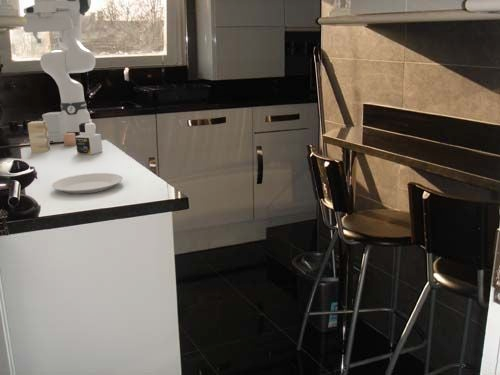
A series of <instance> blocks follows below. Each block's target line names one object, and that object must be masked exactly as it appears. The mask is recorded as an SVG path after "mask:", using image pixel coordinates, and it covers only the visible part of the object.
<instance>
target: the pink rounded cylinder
mask: <svg viewBox="0 0 500 375" xmlns="http://www.w3.org/2000/svg"><path fill="white" fill-rule="evenodd" d="M75 137H76V132H67V133H66V134H63V139H64V141H63V145H64V147H69V148H70V147H74V146H76V139H75Z"/></svg>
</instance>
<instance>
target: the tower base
mask: <svg viewBox="0 0 500 375" xmlns="http://www.w3.org/2000/svg"><path fill="white" fill-rule="evenodd" d="M29 144H30V149H31V154H33V153H47V152H48V151H50V150H51V144H50V142H49V140H48V141H46V142H43V143H30V142H29Z"/></svg>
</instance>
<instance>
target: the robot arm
mask: <svg viewBox="0 0 500 375" xmlns="http://www.w3.org/2000/svg"><path fill="white" fill-rule="evenodd" d="M33 2H34V4H32V5H30V6H27V7H25V8H24V9H23V13H24V15H23V17H24V18H26V19H27V23H26V24H24V25H23V24H22V28H23V31H24V32H25V33H32V35H33V37H34V39H35V40H36V43H37V44H42V38H39V36H38V35H39V33H46V32H48V33H49V32H58V34H57V43H58V45H59V46H60V48H61V49H62V50H61V49H59V50H51V51H47V52H44V53H43V54H42V55H41V56H40V60H39V61H40V62H39V64H40V66H41V69H42V70H43V72H44V73H46V74H48V75H50V77H52V79H53V80H54V81H55V83H56V85H57V87H58V91H59V96H60V110H61V112H64V117H65V125H66V132H67V133H80V131H79V124H81V123H86V122H92V123H93V120H92V119H91V116H90V112H89V111H88V108H87V102H86V100H85V95H84V94H85V93H84V86H83V84H82V83H80V82H79V81H77V80H76V79H74V78H71V77H70V74H79V73H80V74H81V73H87V72H90V71H93V70H94V68H95V66H96V61H97V60H96V57H95V56H96V55H94V53H93V52H92V51H91V50H90V49H87V48H86V47H85V46H84V45H83V41H82V40H83V39H82V38H83V37H82V35H83V33H82V32H83V29H82V28H83V26H82V25H83V24H82V19H81V16H85V14H86V13H87V12H89V10H90V8H91V4H92V0H33ZM96 129H97V128H96V126H95V130H96Z"/></svg>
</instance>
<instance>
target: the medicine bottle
mask: <svg viewBox="0 0 500 375" xmlns="http://www.w3.org/2000/svg"><path fill="white" fill-rule="evenodd" d="M95 127H96V123H94V122H93V121H92V122H86V123H81V124H79V131H80V132H79V135H75V139H76V147H75V148H76V153H77V155H83V156H84V155H85V156H91V155H95V154H99V153H102V152H103V141H102V135H101V133H96V129H95Z"/></svg>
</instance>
